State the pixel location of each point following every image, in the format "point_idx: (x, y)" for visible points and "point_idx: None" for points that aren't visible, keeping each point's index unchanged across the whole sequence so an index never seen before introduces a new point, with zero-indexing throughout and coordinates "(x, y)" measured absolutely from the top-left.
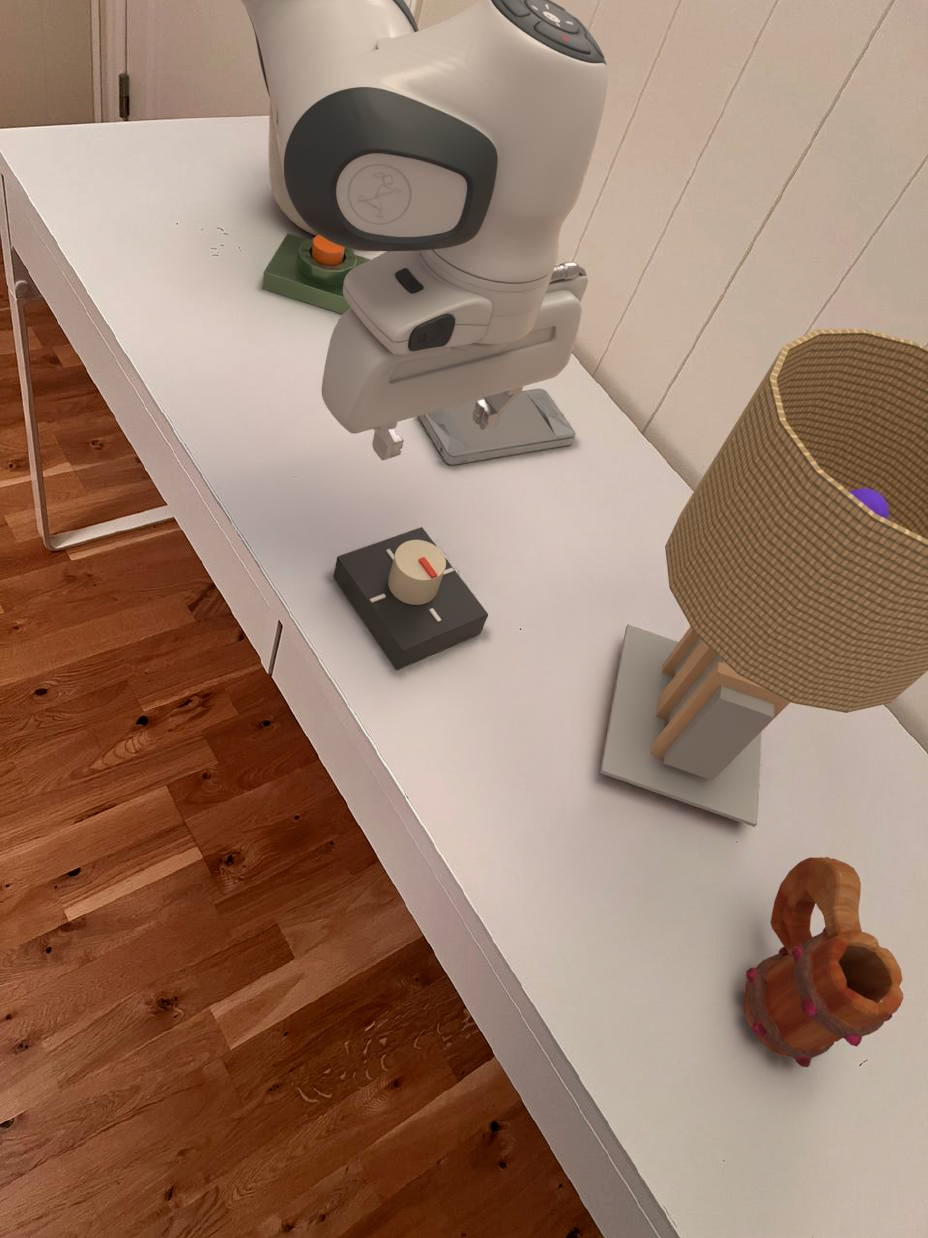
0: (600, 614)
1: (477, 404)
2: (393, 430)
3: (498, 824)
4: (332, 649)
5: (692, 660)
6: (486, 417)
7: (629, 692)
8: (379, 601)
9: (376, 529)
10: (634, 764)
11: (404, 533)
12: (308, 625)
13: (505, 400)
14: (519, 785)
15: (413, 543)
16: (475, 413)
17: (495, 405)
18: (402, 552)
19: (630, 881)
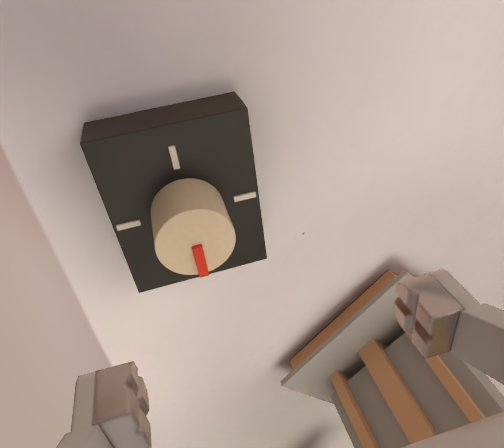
0: (397, 227)
1: (427, 320)
2: (131, 428)
3: (181, 387)
4: (61, 231)
5: (408, 414)
6: (417, 346)
7: (352, 333)
8: (129, 229)
9: (185, 37)
10: (310, 382)
11: (212, 116)
12: (31, 194)
13: (492, 372)
14: (214, 364)
15: (196, 216)
16: (409, 298)
17: (462, 346)
18: (172, 229)
19: (258, 415)
